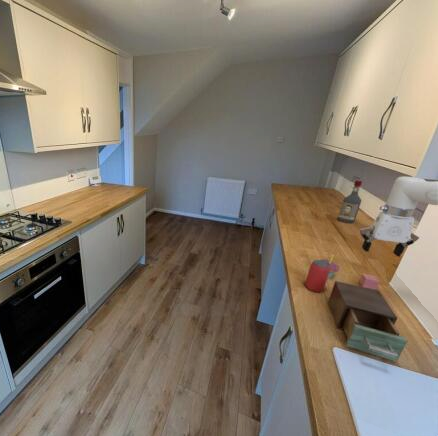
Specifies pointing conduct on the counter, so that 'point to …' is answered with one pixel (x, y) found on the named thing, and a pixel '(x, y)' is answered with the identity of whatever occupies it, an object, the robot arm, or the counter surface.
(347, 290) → the cabinet
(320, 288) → the beer can
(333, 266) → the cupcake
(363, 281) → the block
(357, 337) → the drawer
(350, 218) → the liquor
